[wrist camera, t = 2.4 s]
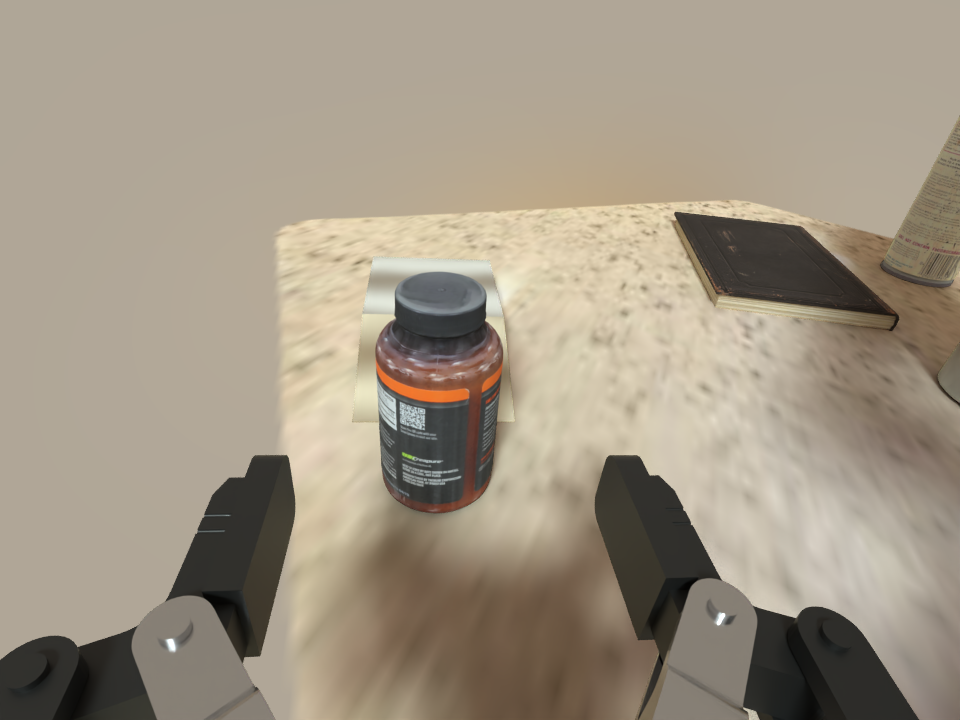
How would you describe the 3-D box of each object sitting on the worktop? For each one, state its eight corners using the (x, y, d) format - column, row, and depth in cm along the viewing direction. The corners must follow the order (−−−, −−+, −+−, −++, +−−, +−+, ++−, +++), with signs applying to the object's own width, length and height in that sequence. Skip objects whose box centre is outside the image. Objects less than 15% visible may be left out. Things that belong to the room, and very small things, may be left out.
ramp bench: (512, 434, 34) (520, 383, 31) (353, 435, 33) (349, 382, 30) (485, 302, 49) (489, 260, 46) (375, 299, 47) (373, 256, 45)
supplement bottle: (480, 435, 32) (497, 260, 26) (501, 513, 27) (528, 322, 21) (379, 441, 31) (371, 261, 24) (382, 525, 26) (373, 326, 20)
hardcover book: (709, 313, 49) (717, 290, 48) (669, 229, 68) (674, 211, 67) (890, 336, 48) (903, 314, 46) (798, 244, 67) (805, 226, 65)
